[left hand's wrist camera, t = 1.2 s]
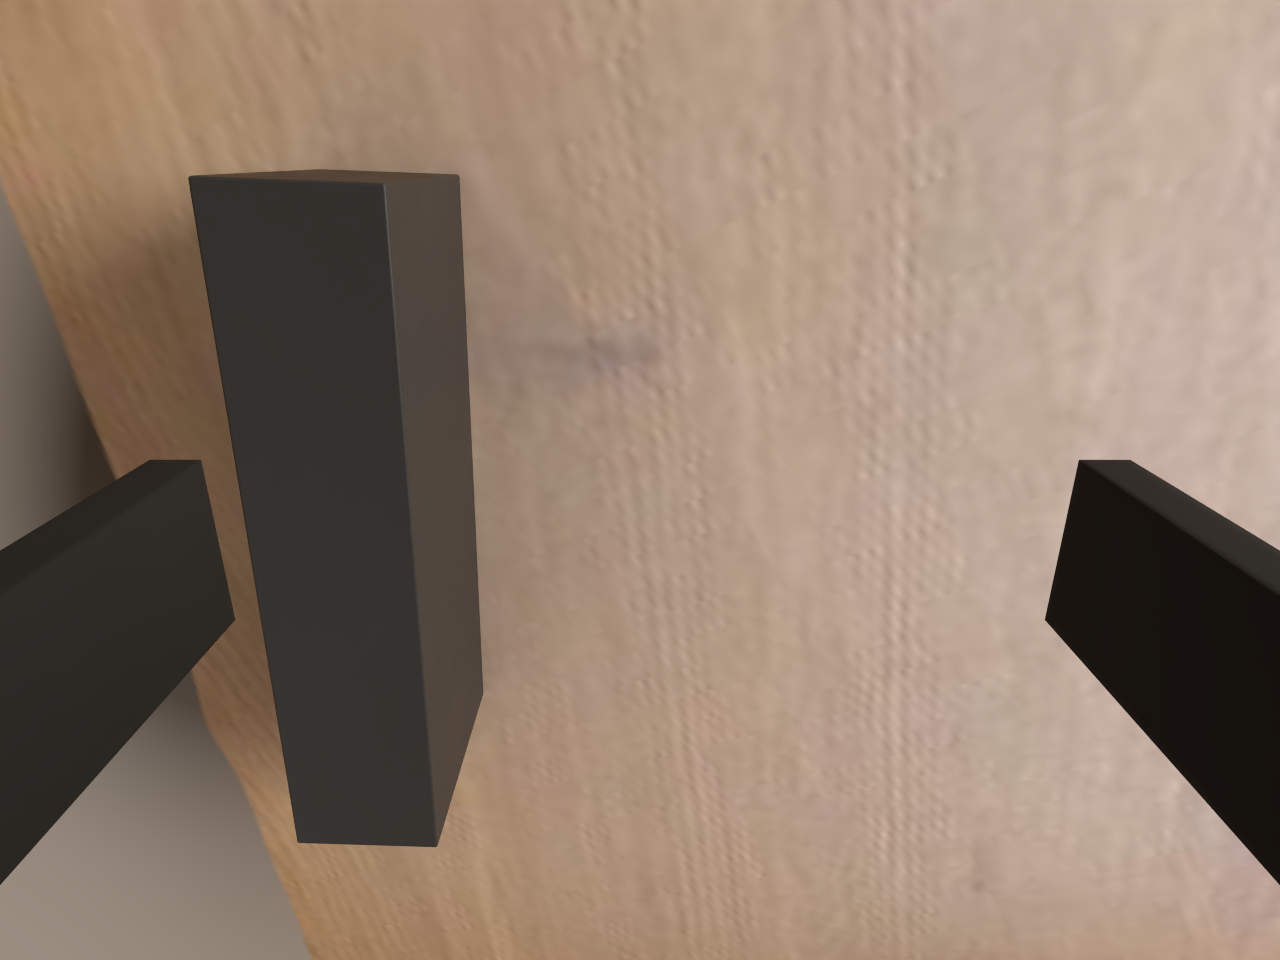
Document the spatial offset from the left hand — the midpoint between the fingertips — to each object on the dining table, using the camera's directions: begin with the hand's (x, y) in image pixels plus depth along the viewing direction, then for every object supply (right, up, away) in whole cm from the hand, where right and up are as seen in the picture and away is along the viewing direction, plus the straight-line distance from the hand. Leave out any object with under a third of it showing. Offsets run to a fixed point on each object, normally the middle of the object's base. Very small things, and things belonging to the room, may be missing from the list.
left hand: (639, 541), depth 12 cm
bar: (-9, +2, +21) cm, 23 cm away
